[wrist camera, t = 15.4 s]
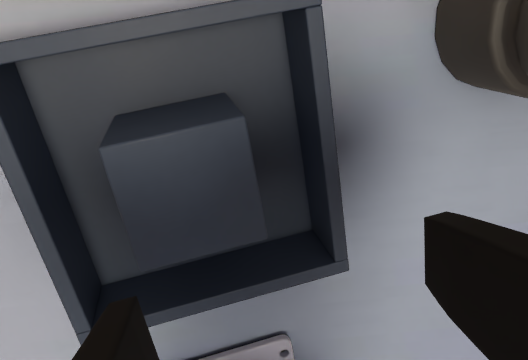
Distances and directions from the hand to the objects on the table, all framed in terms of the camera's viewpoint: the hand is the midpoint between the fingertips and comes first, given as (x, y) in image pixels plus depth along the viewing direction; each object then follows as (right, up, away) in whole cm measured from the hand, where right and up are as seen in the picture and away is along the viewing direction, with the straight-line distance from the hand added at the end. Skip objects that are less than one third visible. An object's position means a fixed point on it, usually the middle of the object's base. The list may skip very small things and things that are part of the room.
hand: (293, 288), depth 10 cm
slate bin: (-4, +4, +8) cm, 10 cm away
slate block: (-4, +4, +7) cm, 9 cm away
